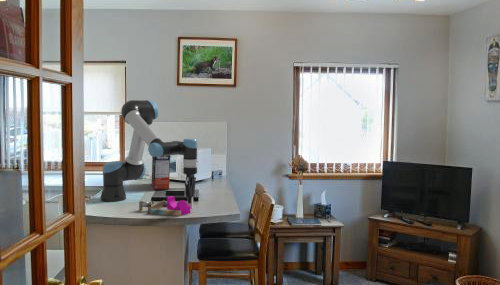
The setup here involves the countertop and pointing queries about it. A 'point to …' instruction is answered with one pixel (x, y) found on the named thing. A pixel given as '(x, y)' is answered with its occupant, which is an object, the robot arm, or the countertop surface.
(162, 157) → the cereal box
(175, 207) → the toy block
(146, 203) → the winch drum
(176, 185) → the countertop surface
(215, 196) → the countertop surface
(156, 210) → the rack bay
